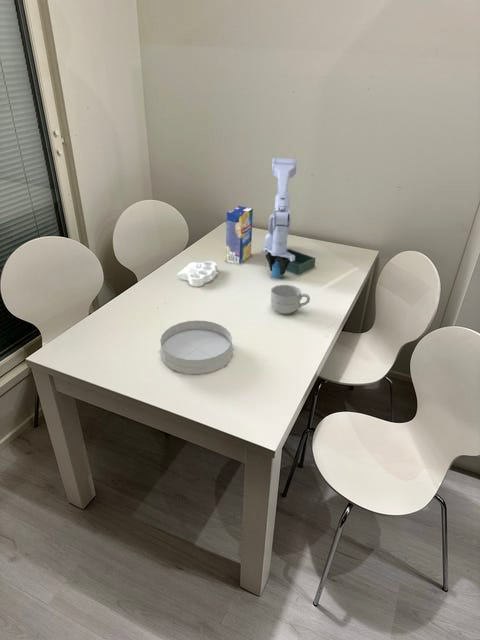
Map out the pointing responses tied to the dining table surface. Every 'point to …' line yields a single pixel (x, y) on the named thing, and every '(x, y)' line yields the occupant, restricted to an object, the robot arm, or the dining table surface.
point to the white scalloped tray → (199, 273)
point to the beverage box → (239, 234)
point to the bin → (299, 262)
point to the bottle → (276, 269)
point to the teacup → (287, 298)
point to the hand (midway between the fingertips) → (277, 272)
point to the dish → (196, 347)
